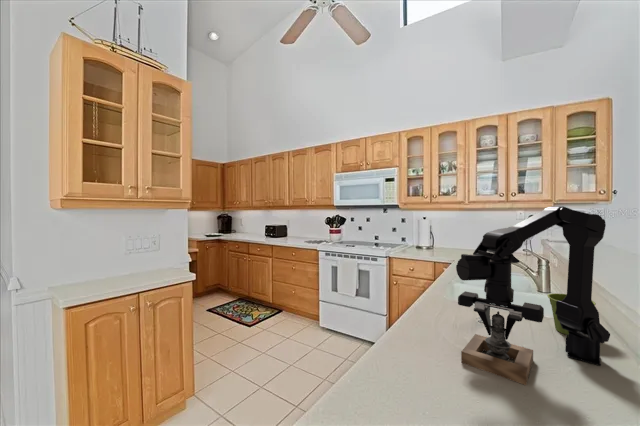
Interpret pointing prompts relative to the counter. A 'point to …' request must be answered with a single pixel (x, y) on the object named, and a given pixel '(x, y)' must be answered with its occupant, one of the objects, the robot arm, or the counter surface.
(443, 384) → the counter surface
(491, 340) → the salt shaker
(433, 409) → the counter surface
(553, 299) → the plant pot
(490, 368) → the well block
